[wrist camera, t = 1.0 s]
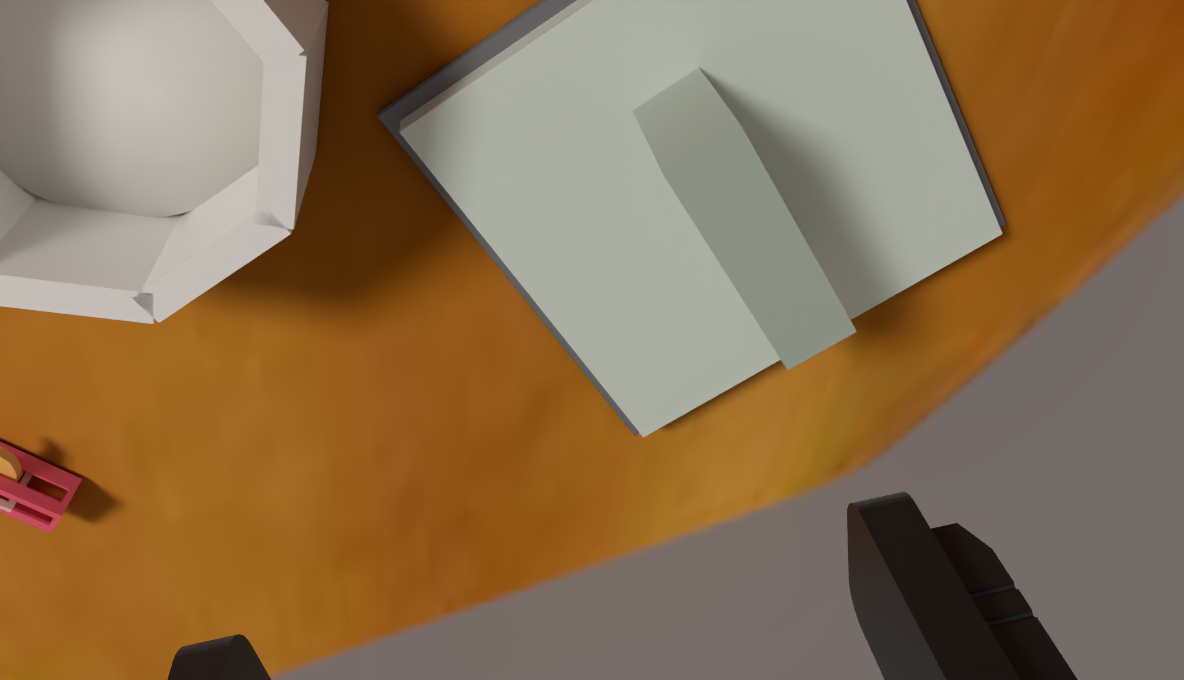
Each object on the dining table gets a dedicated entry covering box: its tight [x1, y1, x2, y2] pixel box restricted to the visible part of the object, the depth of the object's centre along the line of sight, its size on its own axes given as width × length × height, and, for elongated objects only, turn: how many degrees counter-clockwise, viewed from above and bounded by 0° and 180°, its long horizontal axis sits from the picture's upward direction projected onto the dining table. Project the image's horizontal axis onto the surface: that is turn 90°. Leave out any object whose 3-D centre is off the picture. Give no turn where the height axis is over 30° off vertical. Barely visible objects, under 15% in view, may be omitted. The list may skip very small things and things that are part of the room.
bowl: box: [0, 0, 329, 324], centre depth 26 cm, size 12×12×6 cm
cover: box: [399, 0, 1002, 437], centre depth 30 cm, size 15×15×6 cm
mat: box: [378, 0, 1006, 435], centre depth 33 cm, size 16×16×1 cm
